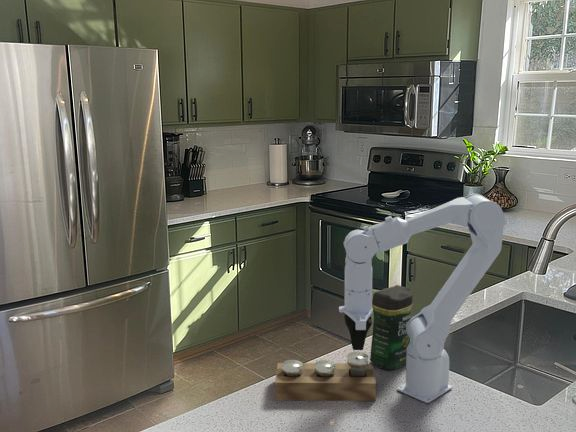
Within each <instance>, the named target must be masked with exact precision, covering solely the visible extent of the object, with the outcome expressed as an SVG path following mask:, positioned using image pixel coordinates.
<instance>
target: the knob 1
mask: <svg viewBox="0 0 576 432" xmlns="http://www.w3.org/2000/svg"><path fill="white" fill-rule="evenodd" d="M282 363H283V364H282V372H283V374H285V376H288V377H300V374H302V372H303V364H302V363H303V362H302V361H299V360H298V359H288V360H285V361H284V362H282Z"/></svg>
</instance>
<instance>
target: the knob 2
mask: <svg viewBox="0 0 576 432" xmlns="http://www.w3.org/2000/svg"><path fill="white" fill-rule="evenodd" d="M346 355H347V356H346V357H347V359H346V360H347V361H346V364H348V365H349V366H350V377H365V367H366V366H367V365H368V364H369V356H368V354H367V353H365V352H363V351H362V352H361V351H352V352H349V353H347V354H346Z"/></svg>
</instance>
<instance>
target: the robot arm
mask: <svg viewBox="0 0 576 432" xmlns="http://www.w3.org/2000/svg"><path fill="white" fill-rule="evenodd" d="M448 224H453V225H456V226H460V227H464V228H468V232H469V234H470V235H469V236H470V239H471V242H472V243H471V244H472V245H470V247H469V249H468V250H467V251H466V253H465V254H464V255H463V257H462V259H461V260H460V262H459V263H458V264H457V265H456V267H455V268H454V270H453V271H452V273H451V275H450V276H449V277H448V279H447V280H445V281H446V282H445V283H444V285H443V286H442V287H441V289H439V292H438V293H437V294H436V296H435V297H434V299H433V300H432V302H431V303H430V304H429V305H427V306H425V307H422V309H421V310H420V311H419V312H418V313H417V314H416V315H414V316H412V317H410V320H409V321H408V323H407V326H406V332H407V334H408V336H409V338H410V343H409V345H408V346H407V353H406V365H405V382H404V383H403V384H401V385H399V386H398V387H396V390H397V391H399V392H400V393H403V394H404V395H407V396H410V397H412V398H415V399H416V400H419V401H421V402H423V403H426V404H429V403H431V402H432V401H434V400H435V399H437V398H439V397H440V396H442V395H443V394H445V393H446V392H449V390H451V389H453V385H451V384H449V379H450V357H449V354H448V353H447V351H446V349H444V348H445V342H446V340H447V338H448V337H449V334H450V330H451V323H452V320H453V318H455V316H456V315H457V314H458V312H459V310H460V309H461V307H462V306H463V305H464V303H465V302H466V301H467V299H468V298H469V296H470V295H471V294H472V292H473V291H474V290H475V288H476V287H477V285H478V284H479V282H480V281H481V280H482V278H483V277H484V276H485V274H486V273H487V272H488V270H489V268H490V267H491V266H492V264H493V263H494V261H495V260H496V259H497V257H498V256H499V255H500V253H501V251H502V245H503V236H504V228H505V226H506V224H507V220H506V217H505V214H504V211H503V209H502V207H501V206H500V205H499V204H498V203H497V202H495V201H492V200H490V199H489V198H486V197H485V196H484V195H482V194H479V193H471V194H468V195H466V196H465V197H463V196H461V197H456V198H454V199H452V200H450V201H448V202H445V203H443V204H441V205H438V206H436V207H434V208H431V209H429V210H426V211H424V212H421V213H419V214H417V215H414V216H413V217H410V218H407V219H403V218H401V217H398V216H396V217H392V216H391V215H388V216H387V217H385V218H384V221H382V222H379V223H376V224H373V225H372V226H368V225H365V226H363V227H362V229H363V230H362V229H354V230H352V231H350V232H349V233H348V234H347V235H346V236H345V238H344V241H343V243H342V244H343V247H344V249H345V260H344V261H345V265H344V305H341V306H338V312H339V313H341V314H342V313H344V315H343V317H344V323H345V326H346V327H347V330H348V331H349V335H350V342H351V348H352V350H353V351H363V350H364V348H365V343H366V338H367V334H368V332H369V330H370V328H371V326H373V321H372V320H373V319H372V314H373V308H372V299H373V266H372V262H373V261H372V260H373V257H374V256H375V254H381V253H383V252H386V251H389V250H391V249H394V248H398V247H400V246H403V245H406V244H408V242H409V240H410V238H411V237H412V236H413V235H416V234H420V233H423V232H425V231H429V230H431V229H436V228H439V227H442V226H445V225H448Z"/></svg>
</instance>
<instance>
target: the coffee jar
mask: <svg viewBox="0 0 576 432" xmlns="http://www.w3.org/2000/svg"><path fill="white" fill-rule="evenodd" d="M413 299H414V298H413V292H412V290H411V289H410V288H408V287H405V286H402V285H398V284H395V285H394V286H391V287H390V286H389V287H387V288H383V289H380V290H378V291H375V292H374V293H372V308H373V313H372V314H373V319H372V320H373V321H372V336H371V346H370V355H369V357H370V358H369V360H370V362H371V364H372V365H374V366H375V367H378V368H379V369H382V370H383V369H384V370H391V371H392V370H397V369H399V368H402V367H403V366H406V353H407V346H408V345H409V343H410V341H411V340H410V338H409V336H408V334H407V332H406V326H407V323H408V321H409V320H410V319H411V314H412V309H413V305H414V303H413V302H414V301H413Z"/></svg>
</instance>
